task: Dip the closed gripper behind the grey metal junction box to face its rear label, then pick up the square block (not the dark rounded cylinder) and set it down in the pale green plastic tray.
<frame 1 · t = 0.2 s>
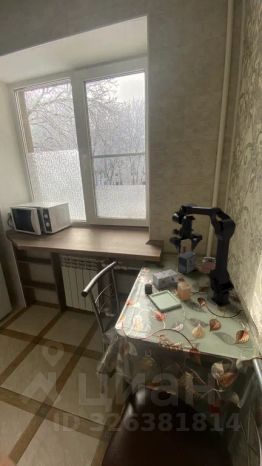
hand: (185, 252, 119), 14 cm above the table, fingers open, 9 cm apart
small box: (186, 270, 130), on the table
junction box: (164, 283, 116), on the table
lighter: (208, 272, 126), on the table
industrial component: (182, 262, 140), on the table
square block: (183, 297, 104), on the table
tray: (164, 301, 101), on the table
dark rounded cylinder: (148, 292, 109), on the table
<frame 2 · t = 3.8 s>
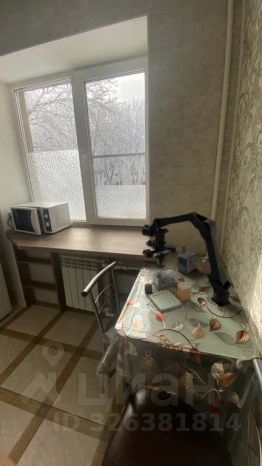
hand: (159, 264, 119), 9 cm above the table, fingers closed
nothing on the table moved.
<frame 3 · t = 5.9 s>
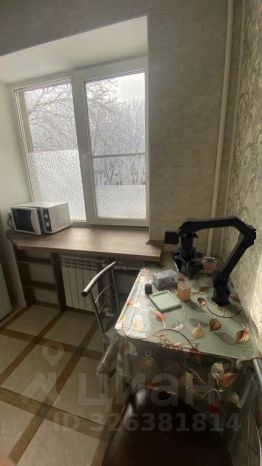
hand: (184, 275, 100), 12 cm above the table, fingers open, 8 cm apart
nothing on the table moved.
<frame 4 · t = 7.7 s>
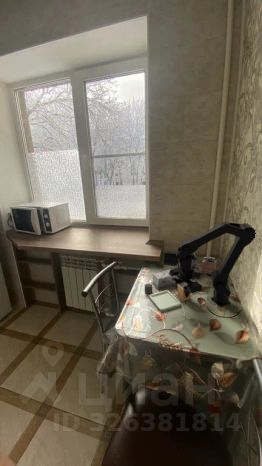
hand: (183, 294, 103), 2 cm above the table, fingers closed on square block, 4 cm apart
square block: (183, 297, 104), on the table, touching gripper
everything else where it was.
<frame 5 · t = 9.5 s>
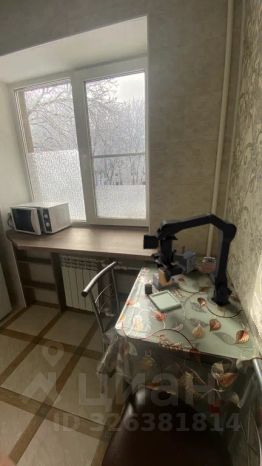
hand: (165, 279, 97), 12 cm above the table, fingers closed on square block, 4 cm apart
square block: (164, 282, 98), point 11 cm above the table, touching gripper
everything else where it was.
when the fingers open (3 cm above the table, at t = 11.5 s): square block stays where it is, resting on tray.
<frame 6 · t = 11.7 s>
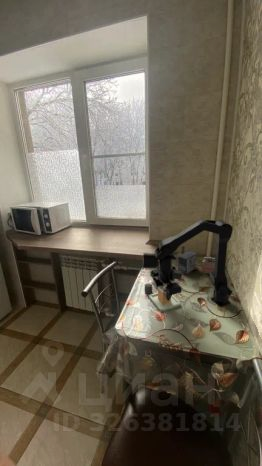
hand: (164, 296, 100), 3 cm above the table, fingers open, 7 cm apart
square block: (164, 300, 101), point 1 cm above the table, touching tray
everything else where it was.
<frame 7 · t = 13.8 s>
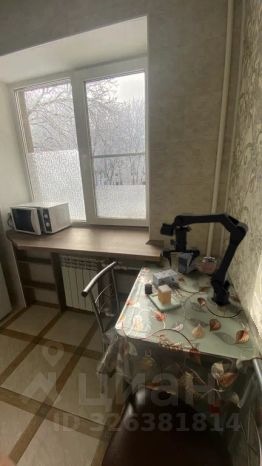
hand: (179, 266, 108), 12 cm above the table, fingers open, 9 cm apart
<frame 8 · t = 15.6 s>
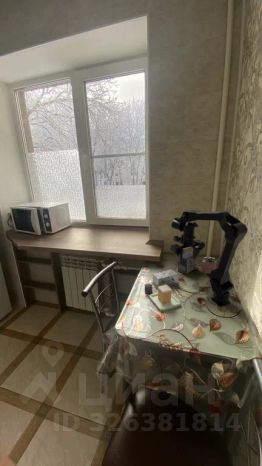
hand: (186, 260, 114), 12 cm above the table, fingers open, 9 cm apart
at the end: square block inside the target area on the tray (0.0 cm from its centre), point 0.6 cm above the tray's base; the gripper is holding nothing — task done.
